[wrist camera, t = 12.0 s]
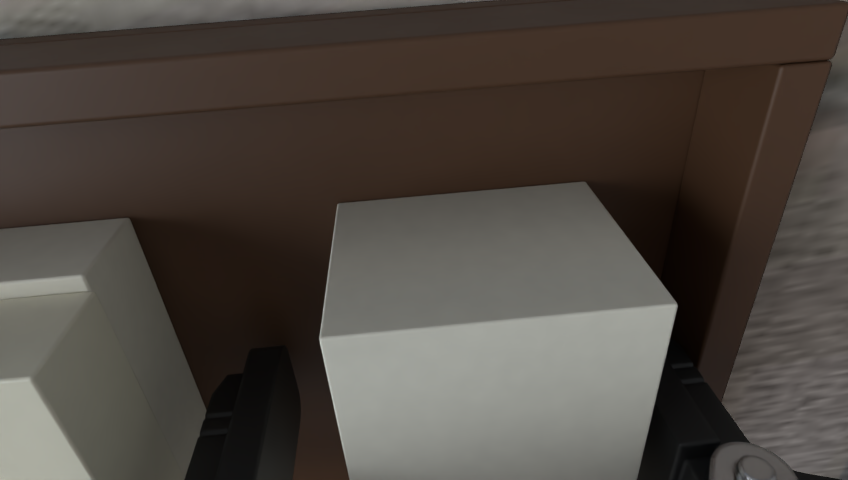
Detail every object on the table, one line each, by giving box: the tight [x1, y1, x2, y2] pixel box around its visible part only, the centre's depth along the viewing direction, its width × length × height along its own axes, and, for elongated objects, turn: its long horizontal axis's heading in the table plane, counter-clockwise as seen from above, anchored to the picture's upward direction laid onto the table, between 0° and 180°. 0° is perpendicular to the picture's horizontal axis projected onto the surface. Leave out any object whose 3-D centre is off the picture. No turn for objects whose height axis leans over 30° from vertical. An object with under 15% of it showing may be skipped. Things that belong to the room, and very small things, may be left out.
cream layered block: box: [0, 218, 207, 480], centre depth 11 cm, size 8×5×4 cm, turn 4°
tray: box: [0, 0, 848, 480], centre depth 12 cm, size 15×20×3 cm
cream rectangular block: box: [319, 182, 678, 480], centre depth 11 cm, size 8×5×4 cm, turn 4°
